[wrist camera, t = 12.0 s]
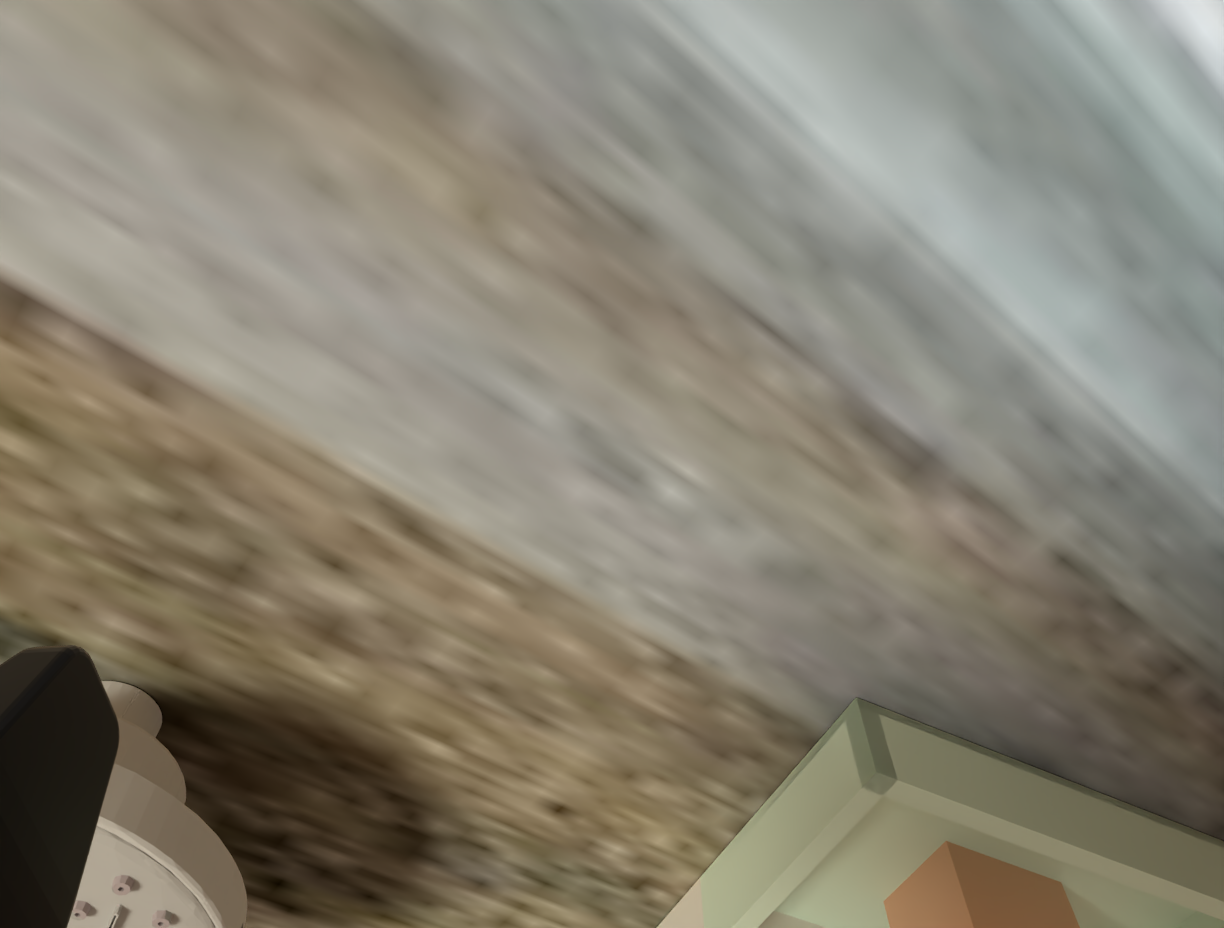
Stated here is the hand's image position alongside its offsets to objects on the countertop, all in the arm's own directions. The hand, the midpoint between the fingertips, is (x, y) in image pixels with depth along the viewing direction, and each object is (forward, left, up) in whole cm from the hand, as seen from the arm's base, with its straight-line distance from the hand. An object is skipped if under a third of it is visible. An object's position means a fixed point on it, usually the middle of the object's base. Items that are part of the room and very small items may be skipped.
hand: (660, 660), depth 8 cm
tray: (-9, +21, -13) cm, 26 cm away
